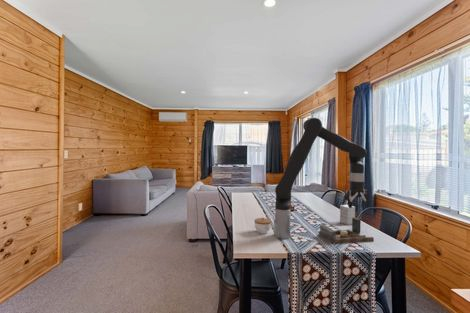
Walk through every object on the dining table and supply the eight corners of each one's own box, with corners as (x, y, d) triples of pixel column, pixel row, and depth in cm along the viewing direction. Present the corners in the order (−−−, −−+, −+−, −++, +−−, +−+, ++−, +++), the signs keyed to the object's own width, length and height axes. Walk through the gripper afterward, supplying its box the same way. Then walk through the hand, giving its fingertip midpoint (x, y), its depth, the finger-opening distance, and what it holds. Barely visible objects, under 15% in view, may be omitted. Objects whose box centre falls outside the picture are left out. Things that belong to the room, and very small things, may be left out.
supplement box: (347, 221, 179) (347, 204, 179) (355, 223, 172) (355, 206, 172) (339, 221, 177) (339, 205, 176) (347, 224, 170) (347, 207, 169)
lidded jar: (274, 232, 152) (274, 218, 152) (263, 236, 145) (263, 221, 145) (262, 228, 160) (262, 214, 160) (250, 231, 153) (251, 217, 153)
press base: (331, 245, 131) (332, 232, 131) (318, 236, 145) (319, 224, 145) (373, 243, 135) (373, 230, 135) (357, 234, 149) (357, 223, 149)
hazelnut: (342, 239, 138) (342, 233, 138) (338, 236, 142) (338, 230, 142) (349, 238, 138) (349, 232, 138) (344, 236, 142) (344, 230, 142)
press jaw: (359, 240, 136) (359, 221, 135) (347, 233, 146) (347, 216, 146) (365, 240, 136) (365, 221, 136) (352, 233, 147) (353, 215, 147)
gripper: (350, 181, 136) (349, 209, 136) (372, 181, 138) (371, 208, 138) (342, 179, 143) (341, 206, 143) (363, 179, 145) (363, 205, 146)
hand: (356, 207), depth 141 cm, fingers open, 8 cm apart
